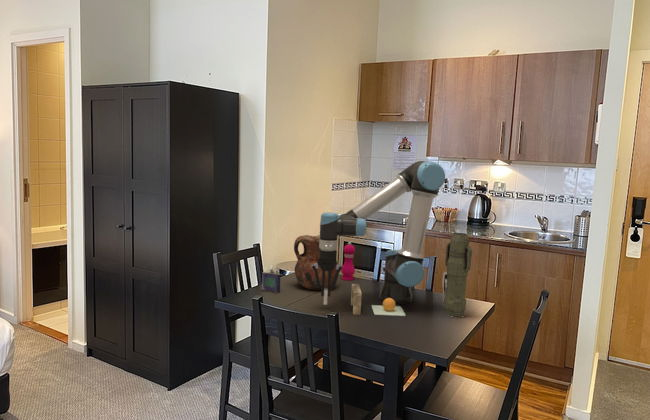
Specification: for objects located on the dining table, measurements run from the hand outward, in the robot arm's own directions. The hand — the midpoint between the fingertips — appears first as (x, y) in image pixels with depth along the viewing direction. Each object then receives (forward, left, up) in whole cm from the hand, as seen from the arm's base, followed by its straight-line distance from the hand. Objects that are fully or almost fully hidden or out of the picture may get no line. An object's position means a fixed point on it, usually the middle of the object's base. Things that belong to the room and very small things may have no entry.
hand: (325, 303), depth 222 cm
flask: (+25, -23, -2) cm, 34 cm away
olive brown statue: (-55, +2, -2) cm, 55 cm away
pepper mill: (-13, -53, -2) cm, 55 cm away
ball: (-27, 0, +1) cm, 27 cm away
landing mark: (-27, 0, -2) cm, 27 cm away
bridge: (-13, 0, -2) cm, 13 cm away
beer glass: (-56, -11, -2) cm, 57 cm away
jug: (+4, -35, -2) cm, 35 cm away
